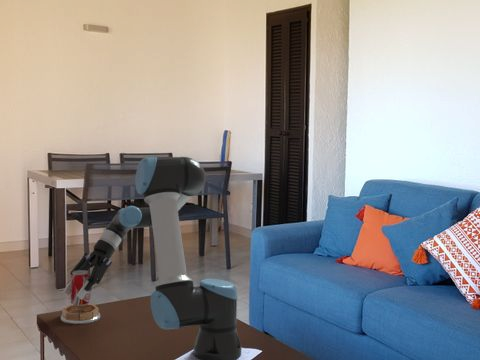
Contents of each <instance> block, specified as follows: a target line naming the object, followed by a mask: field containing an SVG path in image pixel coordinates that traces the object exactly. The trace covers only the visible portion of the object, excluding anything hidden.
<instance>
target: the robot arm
mask: <svg viewBox="0 0 480 360" xmlns="http://www.w3.org/2000/svg"><path fill="white" fill-rule="evenodd" d="M206 176H207V175H206V172H205V169H204V167H203V166H202V164H200V163H199V162H198V160H195V159H193V158H191V157H188V156H153V157H151V156H150V157H143V158H142V159H141V160H140V162H139V163H138V165H137V168H136V172H135V180H134V181H135V182H134V185H135V191H136V192H137V194H138V195H143V201H144V203H146V204H148V205H149V207H137V206H134V205H129V206H126V207H124V208H123V207H122V208H120V209H119V210H118V211H117V213H115V214H114V215H115V216H114V217H112V220H111V221H110V223H109V224H108V225H107V227H106V229H105V230H104V231H103V232H102V233H101V235H100V237H99V239H97V242H96V243H95V244H94V245H93V251H92V252H91V253H89V254H88V253H87V252H85V253H84V254H83V256H82V257H81V259H80V260H79V262H78V263H77V264H76V265H75V266H74V268H73V269H72V270H71V271H70V273H69V274H70V276H71V275H72V272H73V271H77V270H86V271H89V269H91V268H92V270H91V273H90V278H89V279H88V280H89V281H86V282H85V284H84V285H83V286H82V288H81V289H80V291H79V292H78V294H77V295H76V296H77V297H79V298H80V299H81V300H82V299H83V298H84V296H85V295H86V293H87V292H88V291H89V290H90V291H91V288H92V287H93V286H94V285H96V284H97V285H99V284H100V283H101V281H102V279H103V278H104V276H105V274H106V271H107V270H108V268H109V267H110V266H111V265H112V261H111V259H110V258H112V257H113V254H114V253H115V252H116V250H117V248H118V247H119V245H120V244H121V243H122V241H123V239H124V238H125V236H126V235H127V233H128V232H129V231H130V230H132V229H140V228H141V229H142V228H152V234H153V241H154V243H153V244H154V249H155V250H154V251H155V256H156V263H157V264H156V265H157V272H158V281H157V283H156V284H155V287H154V288H155V290H154V291H153V292H152V293H151V294H150V310H151V313H152V316H153V319H154V322H155V323H156V324H157V326H158V327H159V328H160V329H162V330H166V331H167V330H178V329H182V328H189V327H194V326H199V330H198V333H197V336H196V338H195V342H194V345H193V355H194V356H195V357H196V358H197V359H199V360H201V359H202V360H234V359H235V360H236V359H238V358H240V357H241V355H242V344H241V340H240V337H239V334H238V331H237V319H238V318H237V316H238V315H237V313H238V312H237V310H238V309H237V307H238V292H237V290H238V289H237V286H236V285H235V284H233V283H232V282H230V281H226V280H223V279H216V278H204V279H201V280H200V282H199V285H198V286H194V280H193V279H192V278H191V277H189V276H188V273H187V265H186V259H185V252H184V251H185V250H184V246H183V239H182V238H183V237H182V231H181V225H180V218H179V211H180V210H181V209H182V208H183V206H185V204H186V203H187V202H188V201H189V200H190V199H191V198H193V197H195V196H197V195H199V193H200V192H201V191H202V190H203V189H204V188H205V184H206V180H207V179H206V178H207V177H206ZM62 292H63V293H64V295H66V296H70V280H69V281H68V283H67V285H66V286H65V287H64V289H63V290H62Z"/></svg>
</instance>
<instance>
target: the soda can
mask: <svg viewBox="0 0 480 360" xmlns="http://www.w3.org/2000/svg"><path fill="white" fill-rule="evenodd" d="M90 276H91V274H89V270H87V271H86V270H77V271H73V272H72V275H71V274H70V278H69V279H70V280H69V281H70V294H69V296H70V303H71V305H75V306H84V305H87V304H90V302H91V289H90V290H89V291H88V292H87V293H86V295H85V296H84V298H83V299H82V300H81V299H80V298H79V297H77V296H76V295H77V294H78V292H79V291H80V289H81V288H82V286H83V285H84V284H85V282H86V281H89V280H88V279H89V278H90Z"/></svg>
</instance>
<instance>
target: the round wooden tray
mask: <svg viewBox="0 0 480 360" xmlns="http://www.w3.org/2000/svg"><path fill="white" fill-rule="evenodd" d="M61 310H62V314H61V316H60V321H61V322H62V323H65V324H68V325H87V324H91V322H92V323H94V321H95V322H97V321H99V320H100V318H101V312H99V311H100V310H99V306H96V305H95V304H93V303H88V304H87V305H84V306H75V305H73V304H69V305H67V306H66V307H64V308H63V309H61Z"/></svg>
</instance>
